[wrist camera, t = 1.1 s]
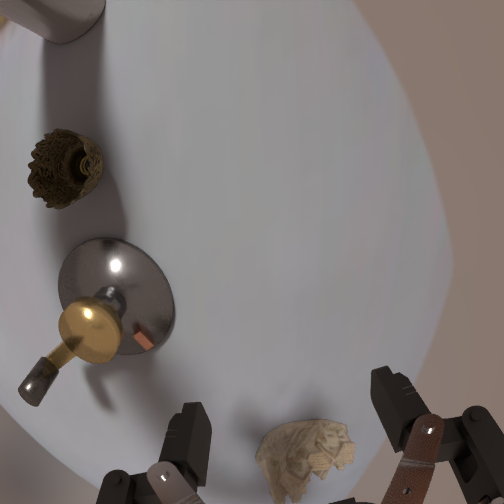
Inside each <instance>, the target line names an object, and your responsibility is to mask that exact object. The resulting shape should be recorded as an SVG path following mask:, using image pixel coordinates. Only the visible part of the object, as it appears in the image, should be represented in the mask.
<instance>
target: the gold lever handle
mask: <svg viewBox="0 0 504 504" xmlns="http://www.w3.org/2000/svg"><path fill="white" fill-rule="evenodd" d="M59 332H60V335H61V338H62V340H63V342H61V343H60V344H59V345H58V346H57V347H56V348H55V349H54V350H53V351H51V352H50V353H49V354H48V355H47V356H46V357H41V358H40V359H39V361H38V362H37V363H36V365H35V366H34V367H33V369H32V370H31V371H30V373H29V374H28V375H27V377H26V378H25V380H24V381H23V382H22V384H21V385H20V386H19V388H18V392H19V394H20V396H21V397H22V398H23V399H24V400H25V401H26V402H27V403H28V404H30V405H32V406H35V407H37V406H39V404H40V402H41V401H42V399H43V397H44V396H45V394H46V393H47V391H48V389H49V388H50V386H51V385H52V383H53V381H54V380H55V378H56V377H57V375H58V373H59V369H60V368H61V367H62V366H64V365H65V364H66V363H67V362H69V361H70V360H71V359H72V358H74V357H75V356H78V357H79V358H81V359H83V360H85V361H87V362H90V363H96V364H101V363H105V362H108V361H110V360H111V359H112V358H113V357H114V355H115V353H116V351H117V349H118V348H119V346H120V344H121V342H122V339H123V335H124V331H123V325H122V322H121V320H120V318H119V316H118V315H117V313H116V312H115V311H114V310H113V309H112V308H111V307H110V306H109V305H108V304H107V303H105V302H104V301H102V300H100V299H98V298H95V297H91V296H83V297H79V298H77V299H75V300H74V301H73V302H72V303H71V304H70V305H69V306H68V307H67V308H66V309H65V310H64V312H63V313H62V314H61V316H60V318H59Z"/></svg>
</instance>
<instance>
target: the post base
mask: <svg viewBox="0 0 504 504" xmlns="http://www.w3.org/2000/svg"><path fill="white" fill-rule="evenodd" d="M58 292H59V298H60V302H61V305H62V308H63V310H65V309H66V308H67V307H68V306H69V305H70V304H71V303H72V302H73V301H74V300H75V299H77V298H79V297H83V296H91V297H95V298H98V299H100V300H102V301H104V302H105V303H107V304H108V305H109V306H110V307H111V308H112V309H113V310H114V311H115V312H116V313H117V315H118V316H119V318H120V320H121V322H122V325H123V331H124V335H123V339H122V342H121V344H120V346H119V348H118V349H117V351H116V354H122V355H132V354H139V353H143V352H145V351H148V350H150V349H152V348H154V347H155V346H156V345H157V344H159V343H160V342H161V341H162V339H163V338H164V337H165V335H166V334H167V332H168V329H169V327H170V324H171V321H172V317H173V310H174V305H173V296H172V292H171V288H170V285H169V283H168V281H167V278H166V277H165V275H164V273H163V272H162V270H161V269H160V267H159V266H158V265H157V263H156V262H155V261H154V260H153V259H152V258H151V257H150V256H149V255H147V254H146V253H145V252H144V251H142V250H141V249H139V248H138V247H136V246H134V245H132V244H130V243H128V242H125V241H122V240H119V239H114V238H97V239H93V240H90V241H87V242H85V243H83V244H82V245H80V246H78V247H77V248H75V249H74V250H73V251H72V252H71V253H70V254H69V255H68V256H67V258H66V259H65V261H64V263H63V264H62V267H61V270H60V274H59V280H58Z"/></svg>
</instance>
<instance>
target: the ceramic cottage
mask: <svg viewBox="0 0 504 504" xmlns="http://www.w3.org/2000/svg"><path fill="white" fill-rule="evenodd" d="M347 432H348V430H347V426H346V425H345V424H342V423H341V424H340V423H338V422H333V421H330V420H326V419H316V420H314V419H313V420H312V419H311V420H307V421H305V420H304V421H297V422H293V423H287V424H284V425H281V426H279V427H277V428H275V429H273V430H272V431H270V432H269V433H267V434H266V435H265V437H264V438H263V440H262V443H261V445H260V447H259V448H258V451H257V453H256V456H255V458H256V461H257V464H258V465H259V467H262V471H263V475H264V477H265V478H266V479H267V481H268V484H269V487H270V494H271V495H272V497H273V500H274V503H275V504H285V495H290V498H291V499H292V502H293V503H297V502H300V499H301V494H305V493H306V484H307V483H308V482H309V481H310V475H311V474H312V472H313V473H314V474H315V475H317V476H318V477H320V479H321V480H324V479H325V477H326V475H327V473H328V471H329V469H330V467H331V466H336V467H337V470H344V464H351V463H352V462H353V459H354V457H353V455H354V452H355V443H354V442H351V440H350V438H349V437H348V435H347Z"/></svg>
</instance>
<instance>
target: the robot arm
mask: <svg viewBox="0 0 504 504" xmlns="http://www.w3.org/2000/svg"><path fill="white" fill-rule="evenodd" d="M104 6H105V0H0V15H1V16H3V17H5V18H7V19H9V20H11V21H13V22H15V23H17V24H19V25H21V26H23V27H25V28H27V29H29V30H31V31H32V32H34V33H36V34H38V35H40V36H41V37H43V38H45V39H47V40H49V41H51V42H52V43H56V44H63V43H68V42H70V41H73V40H75V39H77V38H78V37H80V36H81V35H83V34H84V33H85V32H87V31H88V30H89V29H90V28H91V27H92V26H93V25H94V24H95V22H96V21H97V20H98V18H99V17H100V15H101V14H102V11H103V9H104ZM370 394H371V400H372V403H373V405H374V408H375V410H376V412H377V414H378V416H379V418H380V420H381V423H382V425H383V427H384V429H385V431H386V434H387V436H388V438H389V440H390V442H391V445H392V447H393V449H394V451H395V453H397V452H399V451H403V456H402V459H401V460H400V462H399V464H398V467H397V469H396V471H395V474H394V476H393V478H392V481H391V483H390V485H389V487H388V489H387V492H386V493H385V496H384V498H383V500H382V502H381V504H423V501H424V499H425V496H426V493H427V491H428V488H429V485H430V482H431V479H432V476H433V473H434V470H435V463H437V462H443V461H449V463H450V465H451V467H452V469H453V471H454V474H455V476H456V478H457V480H458V483H459V485H460V487H461V490H462V492H463V494H464V497H465V499H466V502H467V504H504V434H503V432H502V431H501V429H500V428H499V426H498V425H497V423H496V422H495V420H494V419H493V417H492V416H491V415H490V413H489V412H488V410H487V409H486V408H484V407H482V406H471V407H469V408H467V409H466V410H465V411H464V413H463V415H462V416H460V417H454V418H448V419H442V418H441V417H440V416H438V415H436V414H432V413H431V412H430V411H429V409H428V408H427V406H426V405H425V403H424V402H423V400H422V398H421V397H420V395H419V394H418V392H416V389H415V388H414V386H412V383H411V382H410V380H409V379H408V377H406V376H404V375H403V374H401V373H400V372H399V373H396V374H393V373H392V371H391V370H390V368H389V367H388V366H383V367H380V368H377V369H374V370H372V371H371V391H370ZM167 430H168V431H167V432H166V438H165V440H164V443H163V447H162V450H161V454H160V458H159V461H158V463H155V464H153V465H152V466H151V467H150V468H149V469H148V471H147V472H145V473H140V474H135V475H129V474H128V473H127V472H125V471H123V470H113V471H110V472H109V473H108V474H106V476H105V477H104V479H103V482H102V485H101V488H100V492H99V495H98V498H97V502H96V504H205V503H204V502H203V501H202V499H201V498H200V497H199V496H198V495H197V486H205V484H206V476H207V468H208V459H209V451H210V443H211V435H212V428H211V423H210V421H209V418H208V416H207V414H206V412H205V410H204V407H203V405H202V403H201V402H190V403H184V405H183V409H182V413H177V414H175V415H174V416H173V418H172V419H171V420H170V422H169V425H168V429H167ZM329 504H374V503H368V502H355V498H354V497H353V498H349V499H346V500H342V501H337V502H333V503H329Z"/></svg>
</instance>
